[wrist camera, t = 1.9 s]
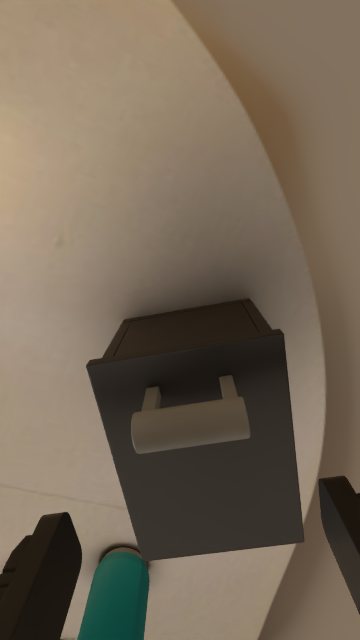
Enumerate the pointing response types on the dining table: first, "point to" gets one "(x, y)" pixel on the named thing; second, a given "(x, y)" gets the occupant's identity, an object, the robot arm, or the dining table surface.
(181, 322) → the hinged lid box
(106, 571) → the beverage can
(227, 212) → the dining table surface
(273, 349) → the box lid
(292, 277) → the dining table surface
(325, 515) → the robot arm
